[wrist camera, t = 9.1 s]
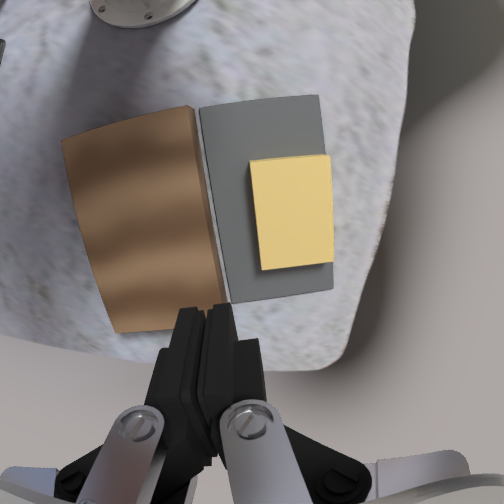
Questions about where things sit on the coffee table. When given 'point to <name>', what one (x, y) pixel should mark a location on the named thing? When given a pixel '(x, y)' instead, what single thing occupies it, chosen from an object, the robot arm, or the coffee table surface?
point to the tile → (293, 210)
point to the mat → (240, 186)
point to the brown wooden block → (146, 218)
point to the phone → (2, 48)
